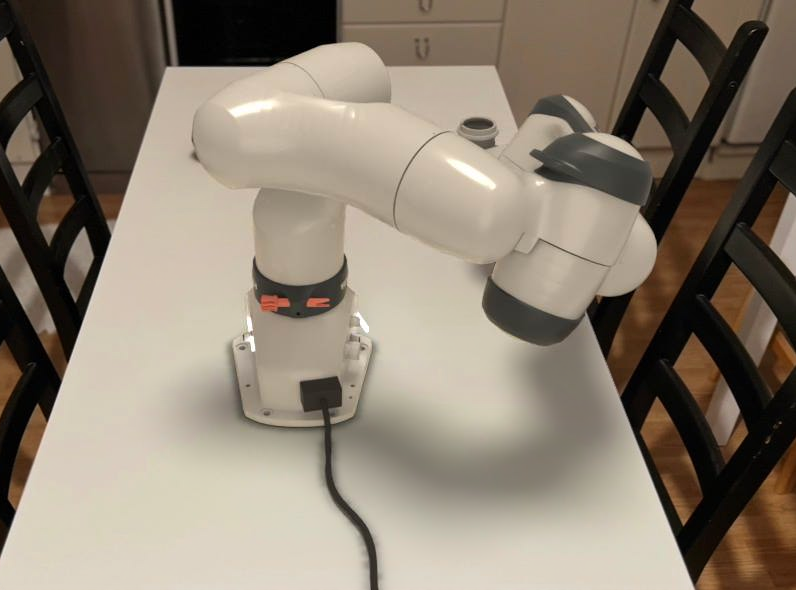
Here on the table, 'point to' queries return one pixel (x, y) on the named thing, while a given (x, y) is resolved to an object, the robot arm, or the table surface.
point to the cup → (479, 130)
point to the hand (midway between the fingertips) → (471, 145)
